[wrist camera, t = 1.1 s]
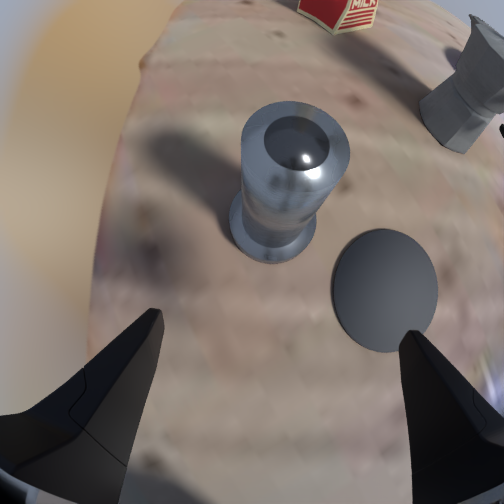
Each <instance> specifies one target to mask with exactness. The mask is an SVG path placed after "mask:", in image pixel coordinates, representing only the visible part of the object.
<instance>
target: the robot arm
mask: <svg viewBox="0 0 504 504" xmlns="http://www.w3.org/2000/svg"><path fill="white" fill-rule="evenodd" d="M163 334H164V320H163V314H162V311H161V310H160V309H155V308H149V309H148V310H147V311H146V312H145V313H143V314H142V315H141V316H140V317H139V318H138V319H137V320H135V321H134V322H133V323H132V324H131V325H130V326H129V327H127V328H126V329H125V330H124V331H123V332H122V333H121V334H119V335H118V336H117V337H116V338H115V339H114V340H113V341H112V342H110V343H109V344H108V345H107V346H106V347H105V348H104V349H103V350H102V351H100V352H99V353H98V354H97V355H96V356H95V357H94V358H93V359H92V360H90V361H89V362H88V363H87V364H86V365H85V366H84V368H82V369H80V370H79V371H78V372H77V373H76V374H75V375H74V376H73V377H71V378H70V379H69V380H68V381H67V382H66V383H64V384H63V385H62V386H60V387H59V388H58V389H56V390H55V391H54V392H52V393H51V394H50V395H48V396H47V397H46V398H44V399H43V400H41V401H40V402H39V403H37V404H36V405H35V406H33V407H32V408H30V409H28V410H26V411H24V412H22V413H18V414H11V415H3V416H0V504H118V501H119V497H120V492H121V488H122V484H123V480H124V477H125V473H126V469H127V465H128V461H129V457H130V454H131V450H132V447H133V443H134V440H135V436H136V433H137V429H138V426H139V422H140V419H141V416H142V412H143V409H144V406H145V403H146V399H147V396H148V393H149V390H150V387H151V384H152V381H153V378H154V374H155V371H156V367H157V363H158V358H159V353H160V348H161V343H162V338H163ZM399 359H400V371H401V383H402V390H403V396H404V403H405V410H406V417H407V425H408V434H409V443H410V455H411V469H412V496H413V504H504V418H503V417H502V416H501V415H500V414H499V413H498V412H497V411H496V410H495V409H494V408H493V407H492V406H491V405H490V404H489V403H488V402H487V401H486V400H485V399H484V398H483V397H482V396H481V395H480V394H479V393H478V392H477V390H476V389H475V388H474V387H473V386H472V385H471V384H470V383H469V382H468V381H467V380H466V379H465V377H464V376H463V375H462V374H461V373H460V372H459V371H458V370H457V369H456V368H455V367H454V366H453V365H452V364H451V363H450V362H449V361H448V360H447V358H446V357H445V356H444V355H443V354H442V353H441V352H440V351H439V350H438V349H437V348H436V347H435V346H434V345H433V344H432V343H431V342H430V341H429V340H428V339H427V338H426V337H425V336H424V335H423V334H422V333H421V332H420V331H419V330H408V331H407V333H406V334H405V336H404V337H403V339H402V340H401V342H400V344H399Z"/></svg>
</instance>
